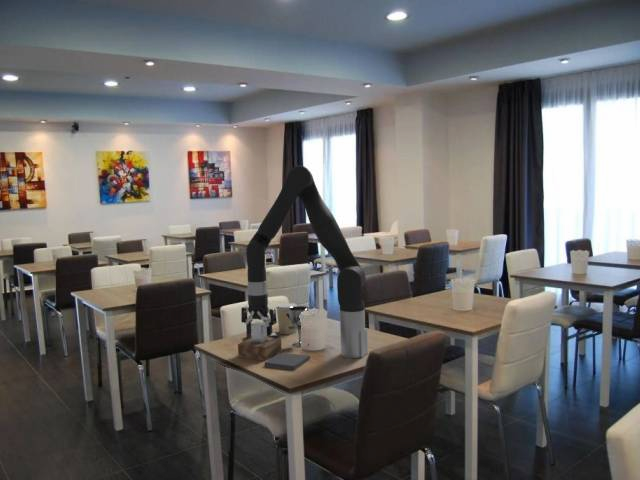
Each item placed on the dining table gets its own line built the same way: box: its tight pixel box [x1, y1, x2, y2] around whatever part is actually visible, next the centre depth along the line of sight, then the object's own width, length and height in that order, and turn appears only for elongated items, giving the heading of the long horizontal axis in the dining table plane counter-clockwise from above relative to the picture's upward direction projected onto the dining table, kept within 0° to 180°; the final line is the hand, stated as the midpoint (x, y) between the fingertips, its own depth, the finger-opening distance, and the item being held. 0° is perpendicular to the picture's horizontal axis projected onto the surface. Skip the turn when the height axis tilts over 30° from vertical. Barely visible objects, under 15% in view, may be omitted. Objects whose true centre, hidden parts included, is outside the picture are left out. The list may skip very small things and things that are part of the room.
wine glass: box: [289, 305, 310, 348], centre depth 215 cm, size 8×8×15 cm
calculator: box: [246, 329, 279, 340], centre depth 224 cm, size 11×4×15 cm
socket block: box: [237, 337, 283, 361], centre depth 205 cm, size 12×12×5 cm
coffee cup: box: [275, 302, 298, 335], centre depth 236 cm, size 9×9×12 cm
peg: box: [251, 321, 268, 344], centre depth 205 cm, size 4×4×12 cm
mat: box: [264, 352, 311, 371], centre depth 193 cm, size 12×12×2 cm
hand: (259, 334), depth 205 cm, fingers open, 8 cm apart
